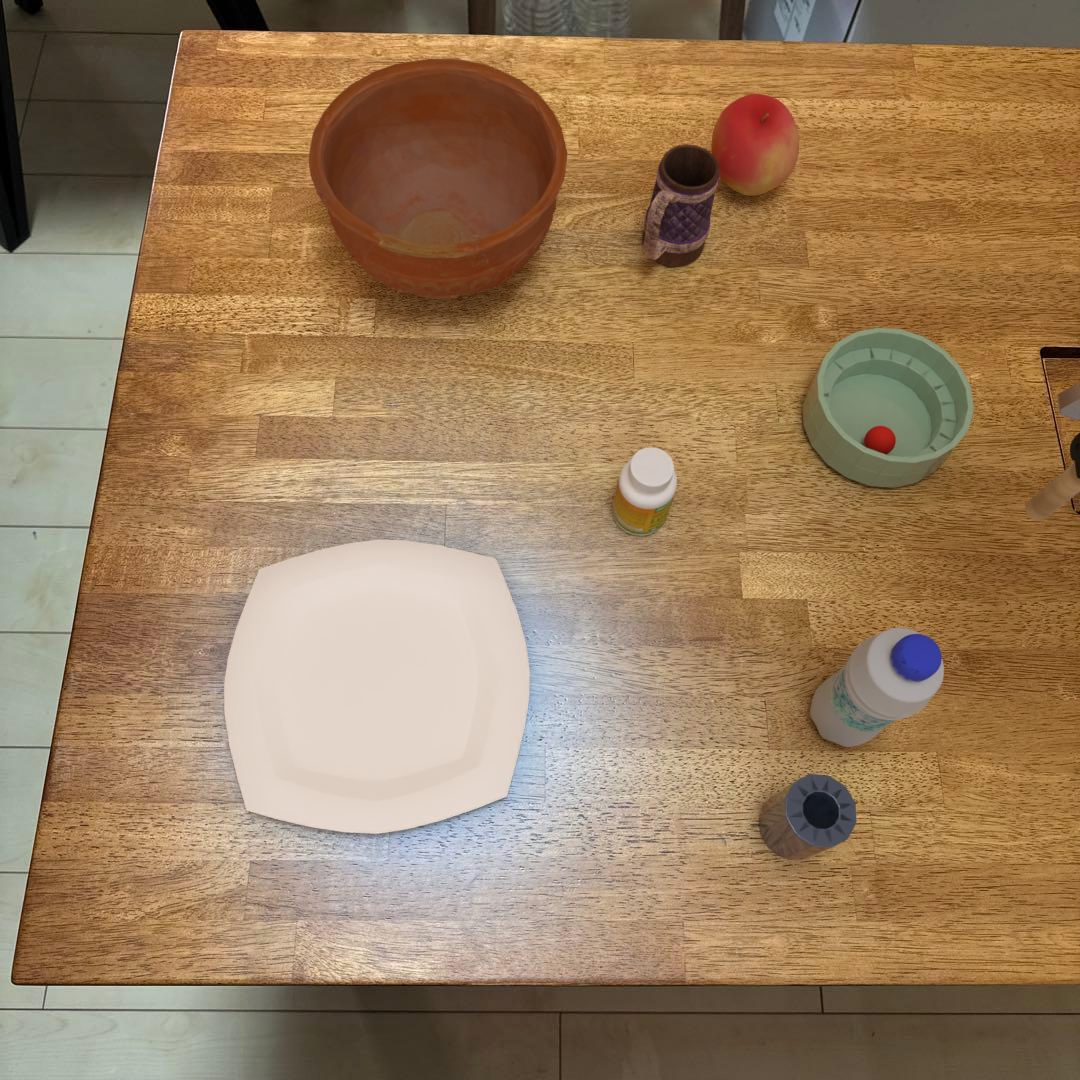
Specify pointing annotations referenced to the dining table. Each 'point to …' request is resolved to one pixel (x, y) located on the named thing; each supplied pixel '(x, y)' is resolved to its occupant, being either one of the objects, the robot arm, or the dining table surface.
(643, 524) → the supplement bottle
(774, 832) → the holder
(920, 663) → the bottle
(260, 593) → the plate
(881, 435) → the red ball
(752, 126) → the apple
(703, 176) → the mug
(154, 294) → the dining table surface
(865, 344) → the green round dish
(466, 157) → the bowl
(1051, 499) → the stick
